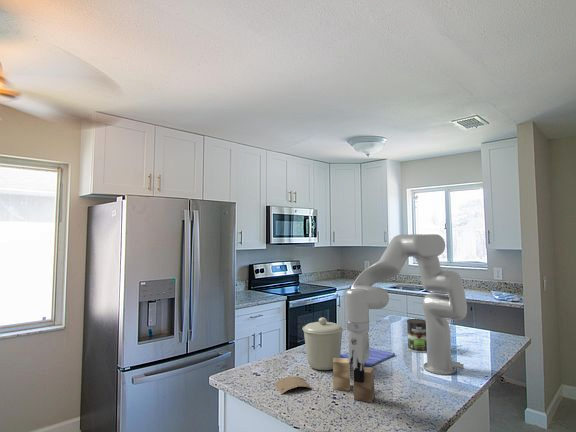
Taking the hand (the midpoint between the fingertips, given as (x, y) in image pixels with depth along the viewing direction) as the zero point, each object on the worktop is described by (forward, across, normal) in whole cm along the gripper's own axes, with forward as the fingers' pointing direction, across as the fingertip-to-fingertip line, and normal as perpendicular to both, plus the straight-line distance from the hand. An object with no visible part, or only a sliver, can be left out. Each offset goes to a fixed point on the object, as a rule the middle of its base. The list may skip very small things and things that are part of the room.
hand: (359, 381), depth 121 cm
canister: (+8, +30, +24) cm, 39 cm away
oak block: (+8, +12, +10) cm, 18 cm away
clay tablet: (+9, +5, +27) cm, 29 cm away
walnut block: (+8, +6, 0) cm, 10 cm away
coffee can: (+8, +71, -11) cm, 72 cm away
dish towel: (+9, +49, +10) cm, 51 cm away
